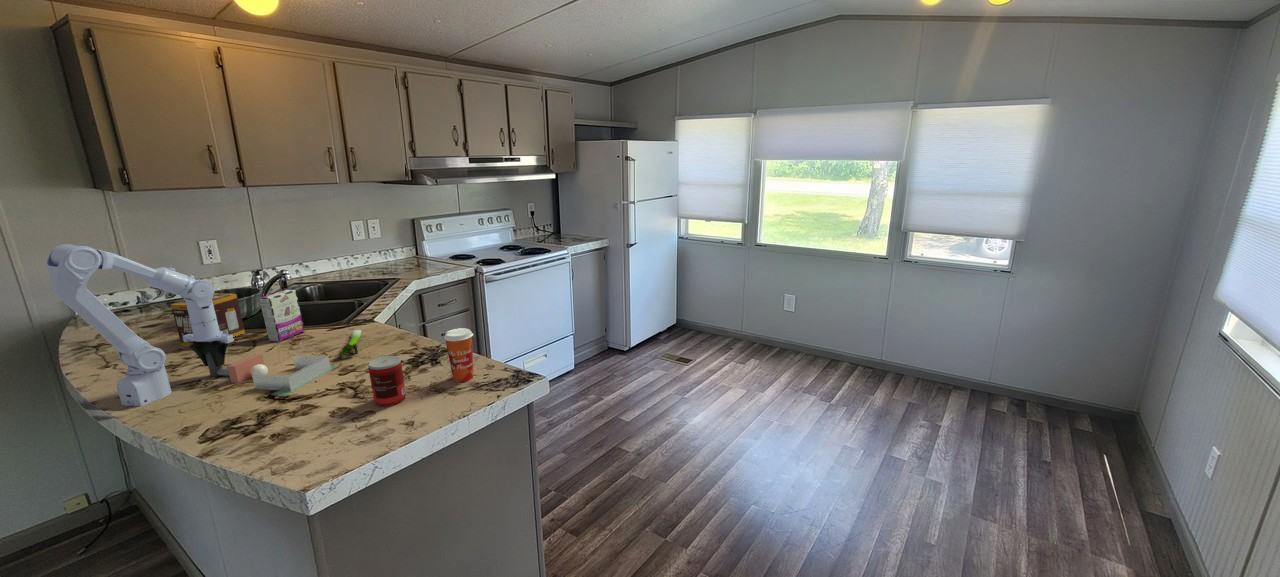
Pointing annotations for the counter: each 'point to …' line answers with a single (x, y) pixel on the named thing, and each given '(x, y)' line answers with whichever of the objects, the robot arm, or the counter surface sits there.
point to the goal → (294, 374)
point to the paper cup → (460, 353)
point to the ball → (259, 370)
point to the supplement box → (225, 315)
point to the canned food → (387, 380)
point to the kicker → (235, 368)
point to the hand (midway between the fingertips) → (214, 365)
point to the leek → (352, 342)
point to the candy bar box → (282, 315)
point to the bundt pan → (245, 299)
